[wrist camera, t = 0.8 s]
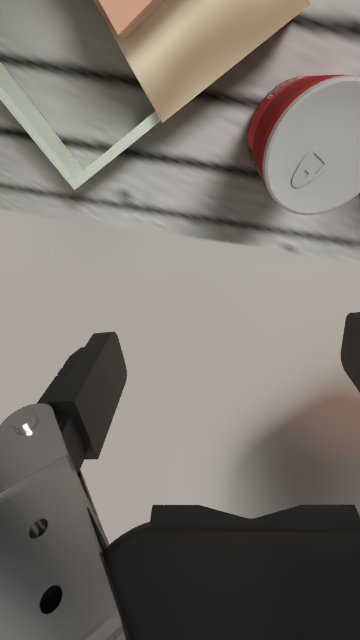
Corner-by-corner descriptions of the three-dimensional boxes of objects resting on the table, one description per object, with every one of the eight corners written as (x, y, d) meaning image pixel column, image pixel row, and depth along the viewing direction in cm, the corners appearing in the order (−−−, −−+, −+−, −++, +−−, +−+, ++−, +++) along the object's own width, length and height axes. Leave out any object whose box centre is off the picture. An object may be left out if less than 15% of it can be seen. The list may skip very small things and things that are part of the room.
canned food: (231, 159, 29) (242, 193, 20) (276, 57, 24) (315, 46, 15) (298, 189, 30) (334, 232, 22) (353, 98, 25) (428, 109, 17)
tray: (-56, 4, 23) (-85, -4, 21) (29, -131, 19) (5, -160, 16) (84, 181, 31) (74, 190, 29) (166, 115, 27) (162, 119, 24)
